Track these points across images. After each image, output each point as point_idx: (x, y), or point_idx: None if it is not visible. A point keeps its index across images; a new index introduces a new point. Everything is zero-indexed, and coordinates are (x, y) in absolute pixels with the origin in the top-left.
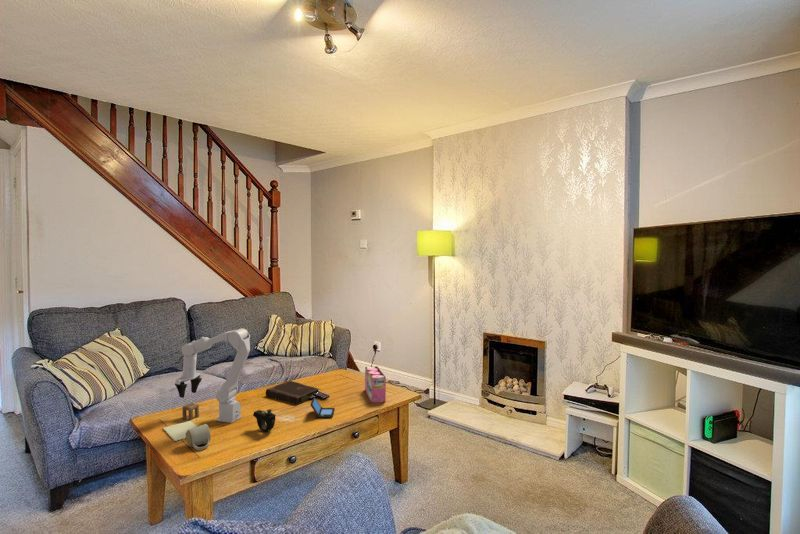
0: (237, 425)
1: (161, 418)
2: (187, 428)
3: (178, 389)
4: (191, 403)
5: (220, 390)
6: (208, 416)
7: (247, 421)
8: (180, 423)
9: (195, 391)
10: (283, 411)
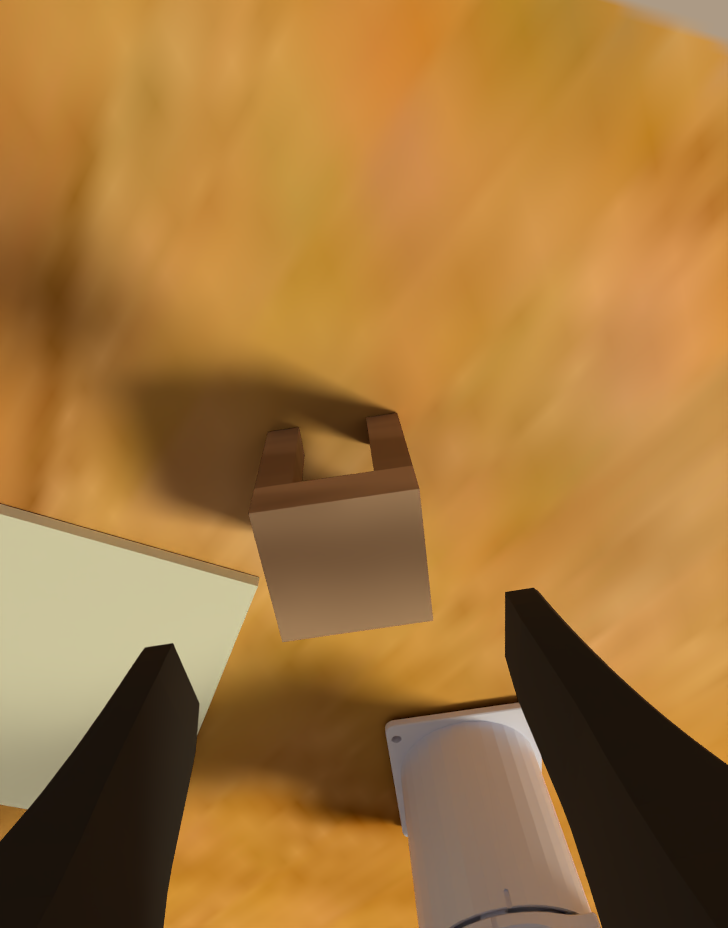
0: (393, 870)
1: (115, 137)
2: None
3: (24, 852)
4: (417, 515)
5: None
6: (449, 601)
7: None
8: (145, 558)
9: (520, 694)
10: None
